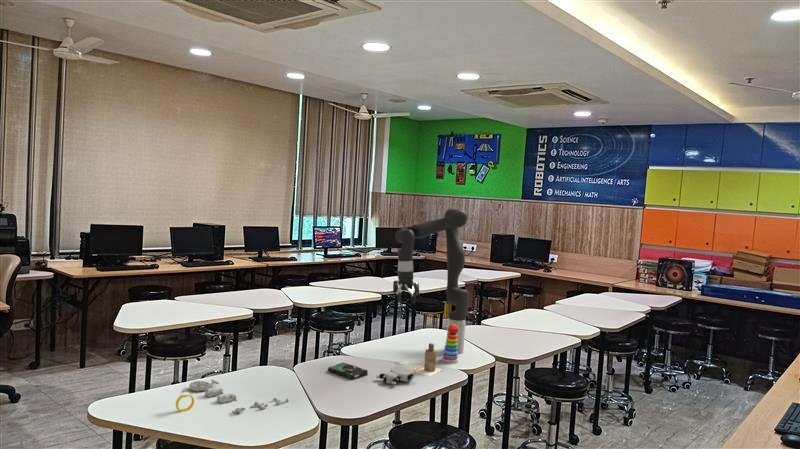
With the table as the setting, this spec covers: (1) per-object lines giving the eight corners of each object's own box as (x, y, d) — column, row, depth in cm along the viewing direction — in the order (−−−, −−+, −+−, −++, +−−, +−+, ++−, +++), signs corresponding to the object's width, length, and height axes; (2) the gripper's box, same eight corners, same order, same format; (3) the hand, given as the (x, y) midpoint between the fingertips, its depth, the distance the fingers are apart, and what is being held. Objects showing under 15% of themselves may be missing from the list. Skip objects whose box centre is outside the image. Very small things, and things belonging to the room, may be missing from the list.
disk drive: (367, 376, 234) (343, 367, 243) (368, 370, 234) (343, 361, 243) (352, 381, 226) (326, 372, 234) (352, 375, 225) (327, 366, 234)
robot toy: (394, 391, 219) (418, 381, 230) (394, 380, 219) (419, 371, 229) (374, 382, 228) (398, 373, 239) (374, 372, 227) (398, 363, 238)
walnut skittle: (427, 367, 249) (429, 342, 248) (436, 369, 246) (438, 344, 246) (422, 369, 244) (424, 344, 244) (431, 372, 242) (433, 346, 242)
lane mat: (398, 358, 261) (398, 357, 261) (444, 369, 249) (444, 368, 249) (382, 365, 248) (382, 364, 248) (430, 378, 236) (430, 376, 236)
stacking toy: (453, 365, 257) (456, 326, 256) (438, 361, 261) (441, 323, 260) (460, 361, 263) (463, 324, 263) (446, 358, 268) (449, 321, 267)
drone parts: (238, 378, 221) (239, 371, 221) (290, 405, 198) (291, 397, 198) (185, 388, 204) (186, 380, 204) (235, 419, 181) (236, 410, 181)
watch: (178, 414, 181) (177, 397, 180) (174, 411, 183) (174, 395, 182) (195, 409, 185) (195, 392, 185) (191, 406, 187) (191, 390, 187)
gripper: (421, 269, 259) (422, 302, 260) (398, 267, 268) (399, 299, 269) (412, 271, 253) (413, 305, 254) (389, 269, 262) (390, 302, 263)
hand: (406, 302), depth 261 cm, fingers open, 8 cm apart
